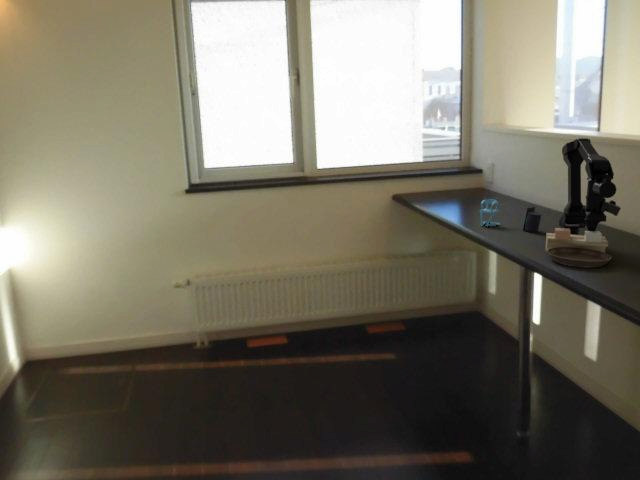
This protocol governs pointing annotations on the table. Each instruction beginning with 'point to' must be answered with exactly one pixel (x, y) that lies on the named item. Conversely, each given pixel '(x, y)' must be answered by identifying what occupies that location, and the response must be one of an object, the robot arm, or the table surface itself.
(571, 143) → the robot arm
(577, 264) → the plant saucer
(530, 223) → the speaker
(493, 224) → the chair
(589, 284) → the table surface
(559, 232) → the tan clay block
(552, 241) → the beige elongated piece
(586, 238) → the light grey block
